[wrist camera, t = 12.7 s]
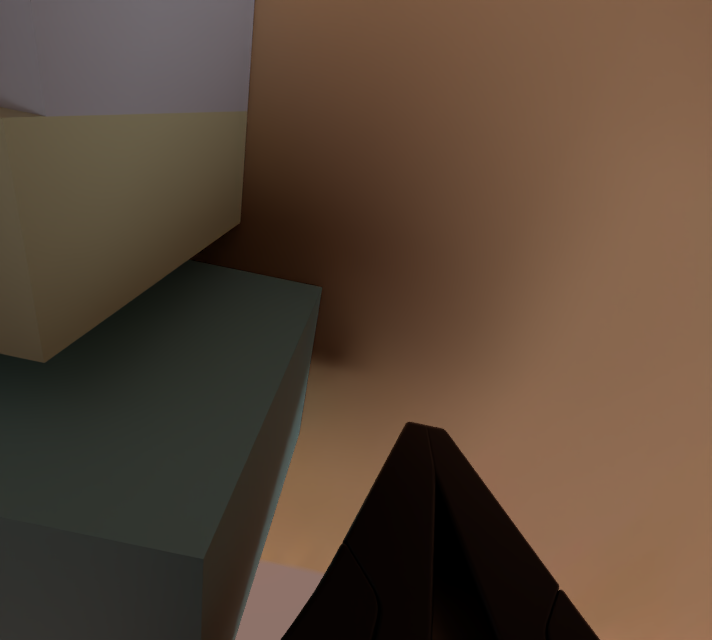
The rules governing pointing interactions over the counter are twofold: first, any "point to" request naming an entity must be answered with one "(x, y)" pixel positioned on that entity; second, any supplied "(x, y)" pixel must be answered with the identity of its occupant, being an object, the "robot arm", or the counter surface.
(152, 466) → the grey teal rectangular block
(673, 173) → the counter surface
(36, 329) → the row of shelved books
